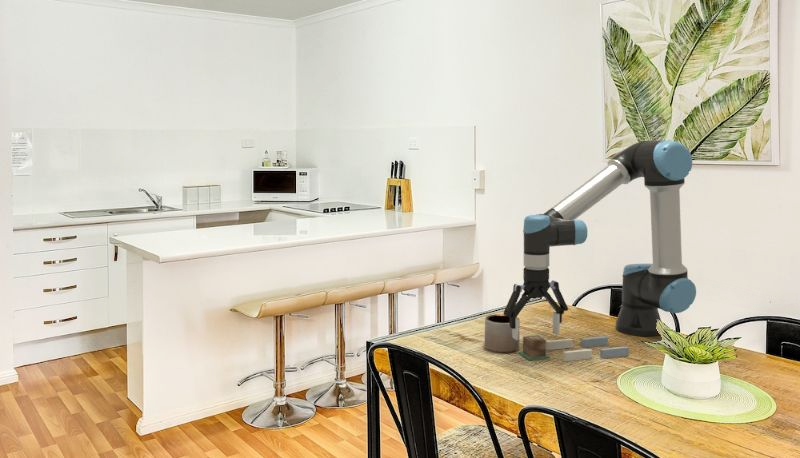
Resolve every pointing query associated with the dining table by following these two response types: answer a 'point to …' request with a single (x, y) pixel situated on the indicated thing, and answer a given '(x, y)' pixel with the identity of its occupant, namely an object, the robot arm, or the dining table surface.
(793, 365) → the dining table surface
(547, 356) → the pad
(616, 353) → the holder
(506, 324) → the planter
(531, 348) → the letter cube
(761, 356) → the dining table surface
